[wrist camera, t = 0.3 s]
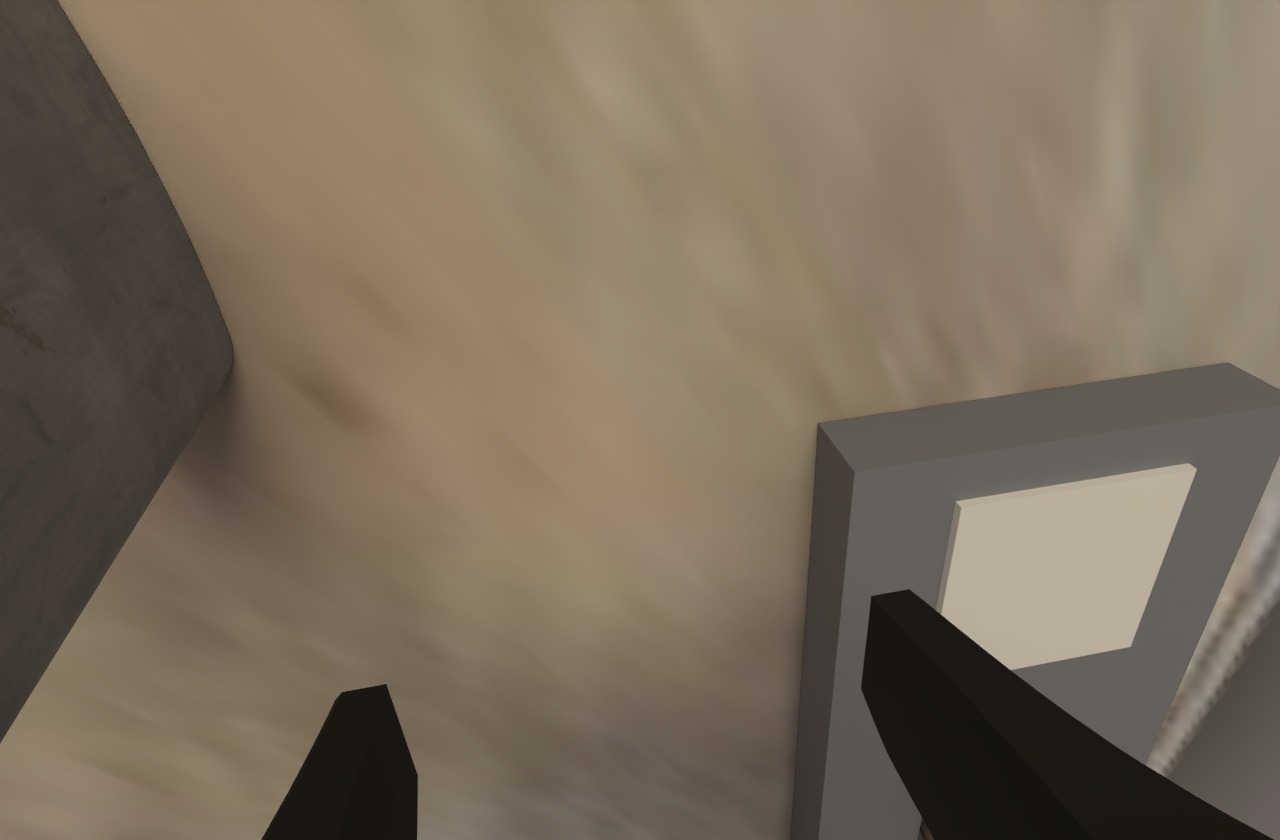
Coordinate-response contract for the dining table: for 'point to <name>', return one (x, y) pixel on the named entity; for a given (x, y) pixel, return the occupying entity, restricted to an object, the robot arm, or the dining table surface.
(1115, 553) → the pocket plate
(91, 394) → the hip flask
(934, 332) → the dining table surface
